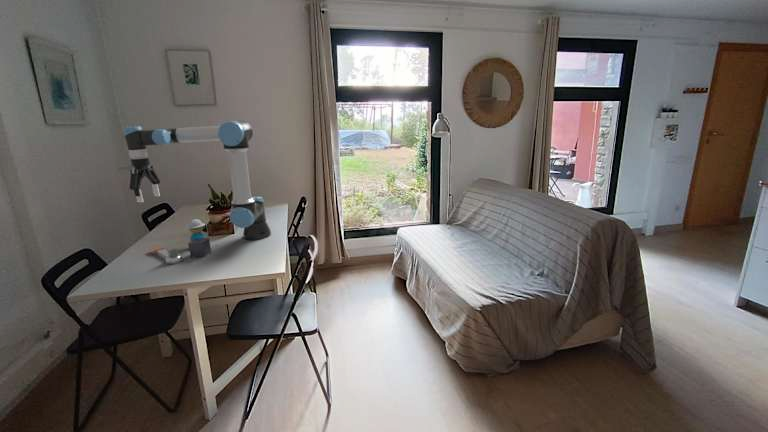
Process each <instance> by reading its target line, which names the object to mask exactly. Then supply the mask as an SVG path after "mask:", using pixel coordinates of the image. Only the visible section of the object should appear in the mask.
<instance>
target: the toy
mask: <svg viewBox="0 0 768 432" xmlns="http://www.w3.org/2000/svg"><path fill="white" fill-rule="evenodd" d="M186 228H187V229H189V231H190V233H192V234H191V235H190V239H189V240H190V241H189V242H191V241H192V240H194V239H195V238H205V235H204V234H203V233H202V232H204V233H208V226H207V225H206V224H205V223H203V222H202V221H201V220H200V219H191V221H190V222H189V223H188V225H187V226H186Z"/></svg>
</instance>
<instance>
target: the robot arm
mask: <svg viewBox="0 0 768 432" xmlns="http://www.w3.org/2000/svg"><path fill="white" fill-rule="evenodd" d="M123 134H124V136H123V137H124V139H125V141H126V146H127V150H128V154H129V158H130V162H131V163H130V164H131V166H132V167H133V168H134V169H132V168H131V169H130V181H129V190H132V191H133V192H134V196H135V198H136V199H135V200H136V202H137V203H145V201H144V197H143V192H142V189H141V185H142V184H141V183H142V180H143V179H144V177H145V178H147V179H148V180H149V181H150V183H151V188H152V193H153V196H154V197H160V196H161V194H160V189H159V184H160V183H161V179H160V178H159V177H158V175H157V173H156V171H155V169H154V166H153V165H151V162H150V160H149V159H150V158H149V154H148V150H147V147H148V146H166V145H170V144H182V143H184V144H185V143H198V142H201V143H202V142H214V141H215V142H216V141H217V142H218V141H220V142H221V143H222V144H223V145H222V146H223V150H224V151H226V152H227V157H228V163H229V170H230V171H229V172H230V178H231V187H232V192H233V193H232V194H233V199H232V201H231V210H230V214H229V219H230V221H231V223H232V225H234V226H235V227H237V228H240V229H243V232H242V233H243V234H242V236H243V237H242V238H243V239H244V240H247V241H248V240H249V241H256V240H261V239H265V238H268V237H270V236H271V234H272V231H271V228H270V227H269V224H268V222H267V218H266V211H265V202H264V198H263V197H262V196H252V189H251V183H250V180H251V179H250V173H249V165H248V156H247V151H248V150H249V146H250V145H249V142H250V141H251V139H252V138H253V135H254V134H253V128H252V126H251V125H250V124H249V123H248V122H246V121H243V120H227V121H225V122H223V123H222V124H220V125H213V126H211V125H210V126H192V127H181V128H180V127H178V128H175V127H173V128H165V129H164V128H163V129H160V128H159V129H158V128H157V129H143V128H142V126H141V125H140V126H139V125H138V126H137V125H136V126H135V125H134V126H133V125H132V126H125V127H123Z"/></svg>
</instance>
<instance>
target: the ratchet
mask: <svg viewBox="0 0 768 432" xmlns="http://www.w3.org/2000/svg"><path fill="white" fill-rule="evenodd" d="M149 249H150V253H152V254H153V255H156V256H158V257H161V258H162V259H164V260H165V264H166V265H176V264H179V263H181V262H183V261H184V258H183V255H182V254H181V253H178V249H177V248H176V247H172V248H171V247H170V248H168V249H167V250H166V249H165V248H164V247H163V246H160V245H155V246H151V247H149Z"/></svg>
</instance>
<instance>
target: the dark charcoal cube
mask: <svg viewBox="0 0 768 432" xmlns="http://www.w3.org/2000/svg"><path fill="white" fill-rule="evenodd" d="M190 241H191V240H190ZM190 241H189V242H187V245H188V249H189V250H188V251H189V255H190V258H203V257H204V258H205V257H207V256H208V255H209V254H210V253H211V252H212V248H211V242H210V238H209V237H204V238H195V239H194V240H192V241H191V242H190Z"/></svg>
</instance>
